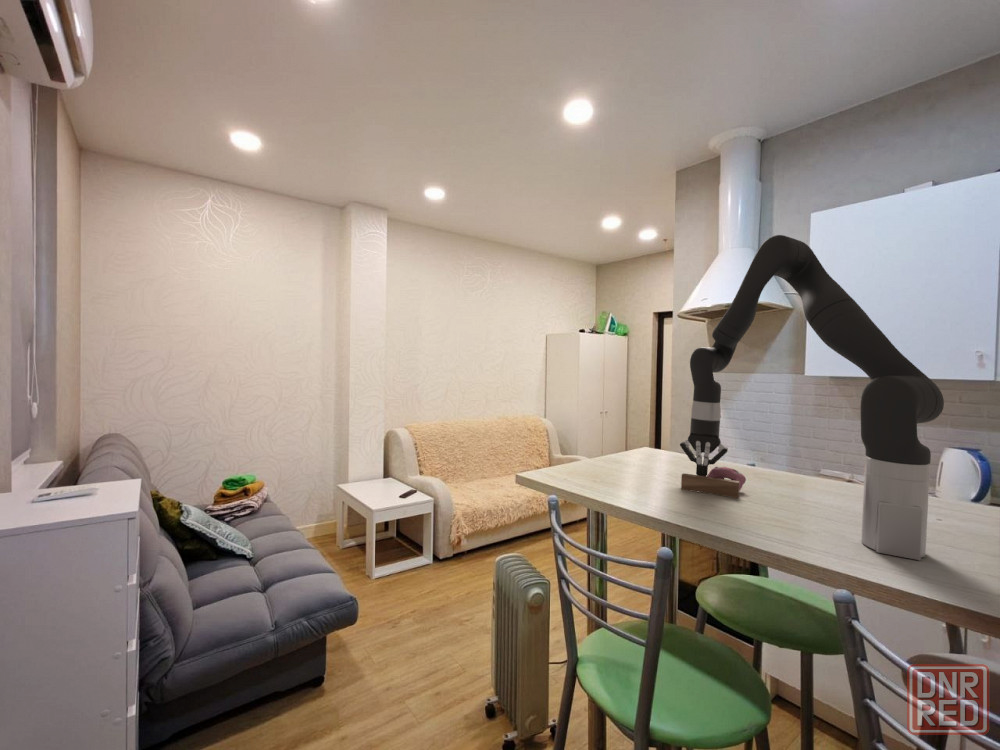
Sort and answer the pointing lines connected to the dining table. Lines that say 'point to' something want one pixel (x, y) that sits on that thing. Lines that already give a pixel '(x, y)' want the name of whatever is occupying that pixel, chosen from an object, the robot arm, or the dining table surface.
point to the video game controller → (727, 475)
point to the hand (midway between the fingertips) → (701, 477)
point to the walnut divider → (710, 485)
